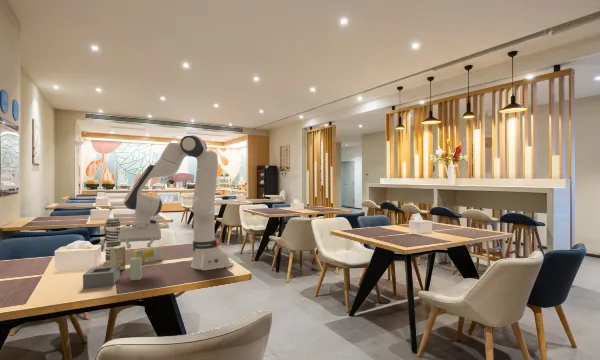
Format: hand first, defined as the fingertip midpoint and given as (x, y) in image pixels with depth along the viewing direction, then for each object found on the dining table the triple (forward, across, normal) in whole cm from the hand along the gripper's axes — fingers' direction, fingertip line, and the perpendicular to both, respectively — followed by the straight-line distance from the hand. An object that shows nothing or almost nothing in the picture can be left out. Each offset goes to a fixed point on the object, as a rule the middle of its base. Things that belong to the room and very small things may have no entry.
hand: (138, 247), depth 166 cm
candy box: (-6, +1, +25) cm, 26 cm away
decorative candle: (-14, -19, +34) cm, 41 cm away
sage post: (+16, 0, +3) cm, 16 cm away
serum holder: (+17, -14, +2) cm, 22 cm away
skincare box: (+2, -12, +17) cm, 21 cm away
